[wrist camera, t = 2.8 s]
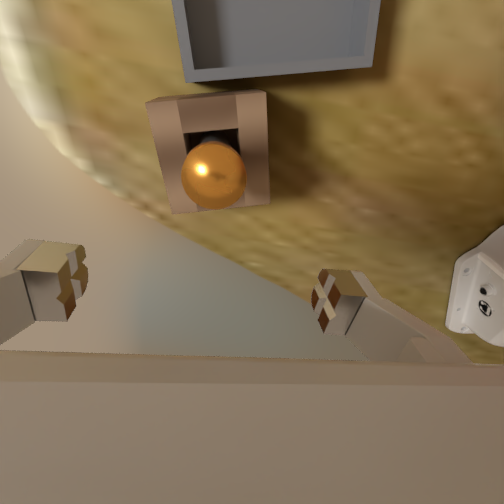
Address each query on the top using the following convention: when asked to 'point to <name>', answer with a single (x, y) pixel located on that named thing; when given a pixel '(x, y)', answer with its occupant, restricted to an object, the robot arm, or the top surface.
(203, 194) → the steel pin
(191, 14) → the tray
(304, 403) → the robot arm
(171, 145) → the hitch block
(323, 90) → the top surface
